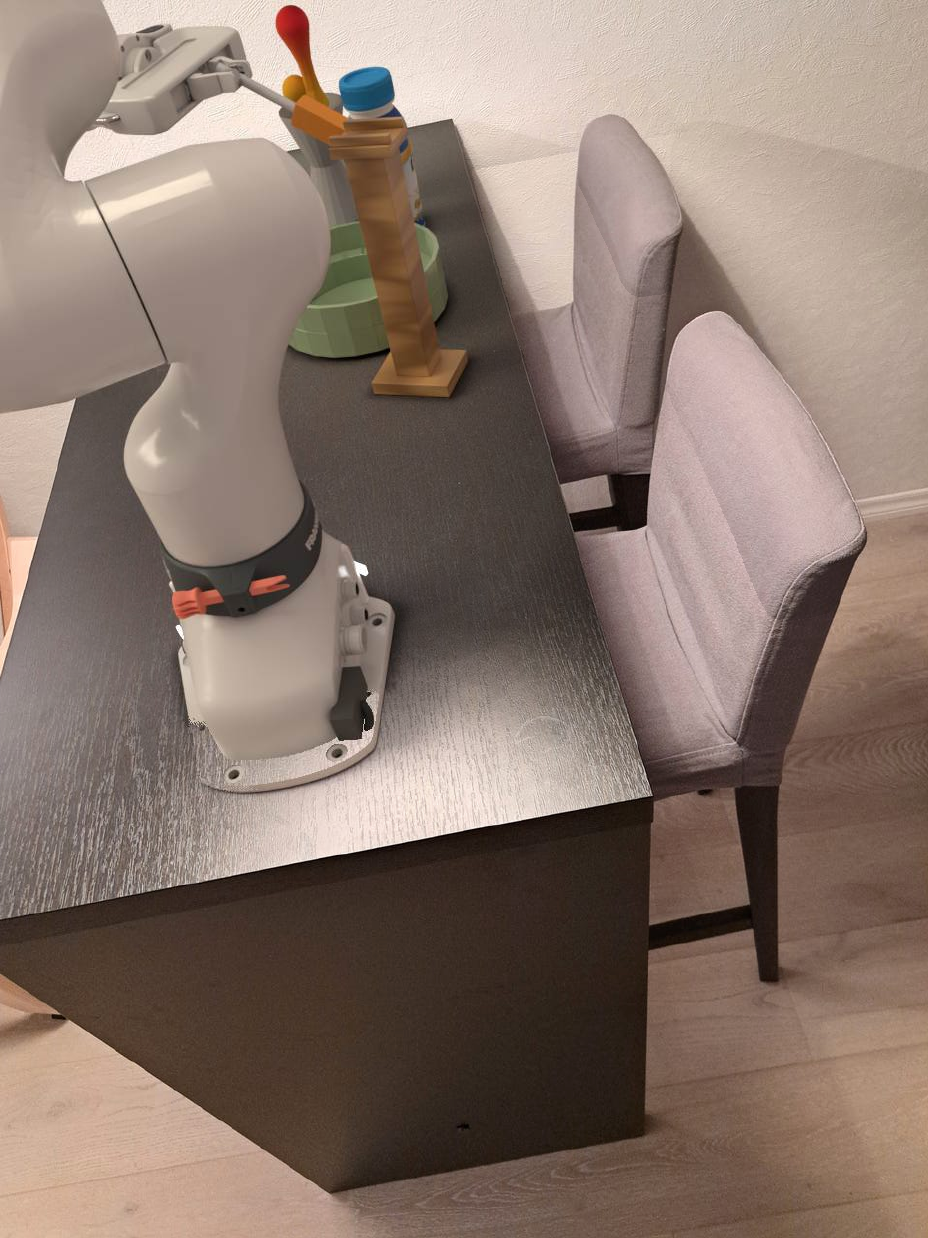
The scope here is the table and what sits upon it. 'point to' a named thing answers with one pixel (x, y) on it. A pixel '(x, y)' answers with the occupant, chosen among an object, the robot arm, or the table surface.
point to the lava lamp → (323, 169)
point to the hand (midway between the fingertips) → (243, 75)
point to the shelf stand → (395, 260)
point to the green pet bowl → (358, 298)
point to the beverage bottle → (373, 99)
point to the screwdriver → (300, 110)
